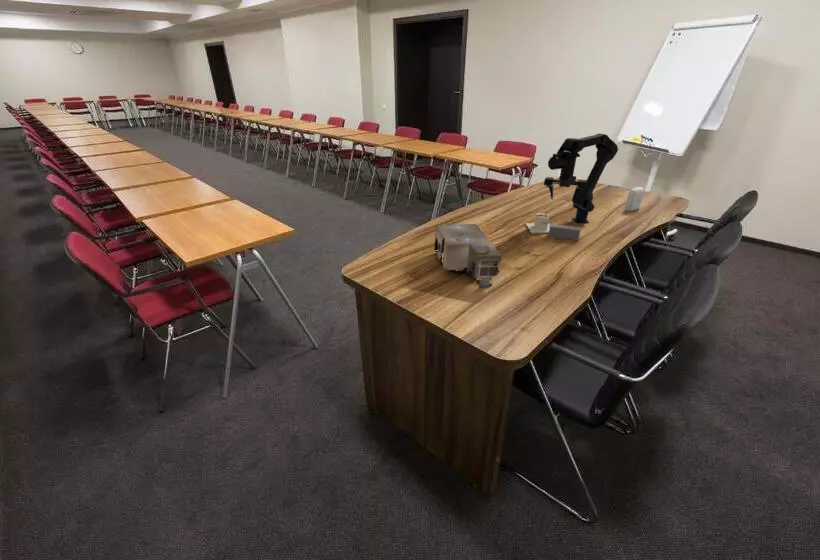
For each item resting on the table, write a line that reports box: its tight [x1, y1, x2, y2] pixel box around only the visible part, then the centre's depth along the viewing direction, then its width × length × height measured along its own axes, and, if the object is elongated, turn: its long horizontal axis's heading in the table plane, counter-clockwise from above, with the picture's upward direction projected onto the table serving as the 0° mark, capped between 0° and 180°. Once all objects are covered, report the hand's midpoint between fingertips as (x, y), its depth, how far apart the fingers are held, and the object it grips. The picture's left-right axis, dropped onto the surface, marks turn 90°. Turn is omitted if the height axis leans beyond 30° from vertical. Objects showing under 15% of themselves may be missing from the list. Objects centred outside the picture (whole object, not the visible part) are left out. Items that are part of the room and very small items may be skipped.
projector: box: [433, 223, 502, 289], centre depth 146 cm, size 18×33×13 cm, turn 6°
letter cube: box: [533, 212, 550, 230], centre depth 184 cm, size 6×6×6 cm
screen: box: [548, 223, 582, 241], centre depth 174 cm, size 3×14×6 cm, turn 67°
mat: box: [525, 222, 551, 234], centre depth 186 cm, size 12×12×1 cm
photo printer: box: [624, 186, 645, 212], centre depth 209 cm, size 10×4×12 cm, turn 123°
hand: (562, 200), depth 183 cm, fingers open, 9 cm apart
